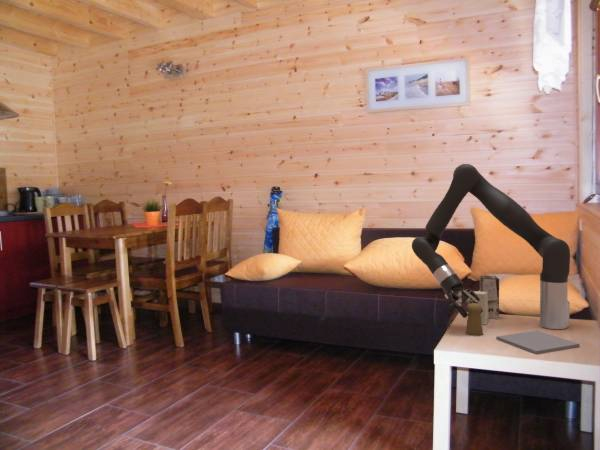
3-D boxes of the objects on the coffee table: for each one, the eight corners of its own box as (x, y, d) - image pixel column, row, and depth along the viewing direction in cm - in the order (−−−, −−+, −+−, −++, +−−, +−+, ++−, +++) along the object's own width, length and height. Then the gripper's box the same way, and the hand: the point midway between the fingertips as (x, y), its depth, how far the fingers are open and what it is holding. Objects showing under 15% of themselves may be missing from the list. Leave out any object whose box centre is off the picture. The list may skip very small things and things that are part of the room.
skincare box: (488, 322, 202) (488, 291, 201) (485, 325, 198) (485, 293, 197) (472, 320, 205) (471, 290, 204) (469, 323, 201) (469, 292, 201)
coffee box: (499, 319, 207) (499, 279, 206) (482, 318, 208) (482, 278, 207) (495, 313, 216) (495, 275, 215) (479, 313, 217) (479, 275, 216)
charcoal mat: (536, 333, 186) (536, 330, 186) (579, 346, 169) (579, 343, 169) (496, 339, 180) (496, 336, 180) (536, 354, 163) (536, 351, 163)
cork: (474, 336, 183) (474, 306, 183) (462, 332, 189) (461, 303, 188) (486, 334, 186) (486, 304, 185) (474, 330, 192) (474, 301, 191)
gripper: (441, 275, 189) (467, 311, 181) (465, 271, 198) (492, 305, 189) (429, 287, 194) (455, 323, 185) (454, 283, 202) (479, 317, 194)
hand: (473, 314), depth 187 cm, fingers open, 8 cm apart
